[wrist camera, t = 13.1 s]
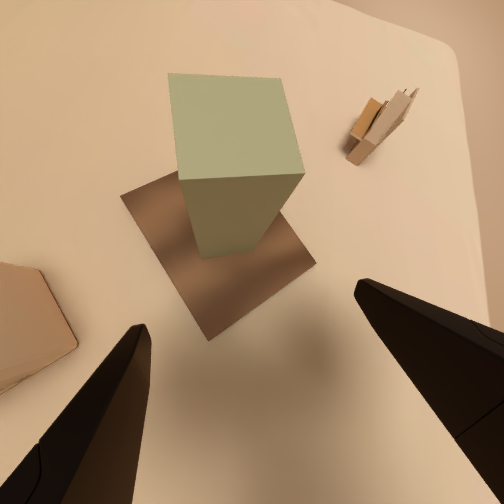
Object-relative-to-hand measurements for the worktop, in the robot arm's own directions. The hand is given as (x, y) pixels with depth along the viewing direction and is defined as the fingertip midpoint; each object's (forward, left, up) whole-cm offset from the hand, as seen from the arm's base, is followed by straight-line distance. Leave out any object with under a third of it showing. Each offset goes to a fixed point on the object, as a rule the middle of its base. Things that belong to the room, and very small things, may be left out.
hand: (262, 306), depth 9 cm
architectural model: (+8, -25, -13) cm, 29 cm away
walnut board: (+7, -3, -12) cm, 14 cm away
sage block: (+7, -3, -11) cm, 14 cm away
